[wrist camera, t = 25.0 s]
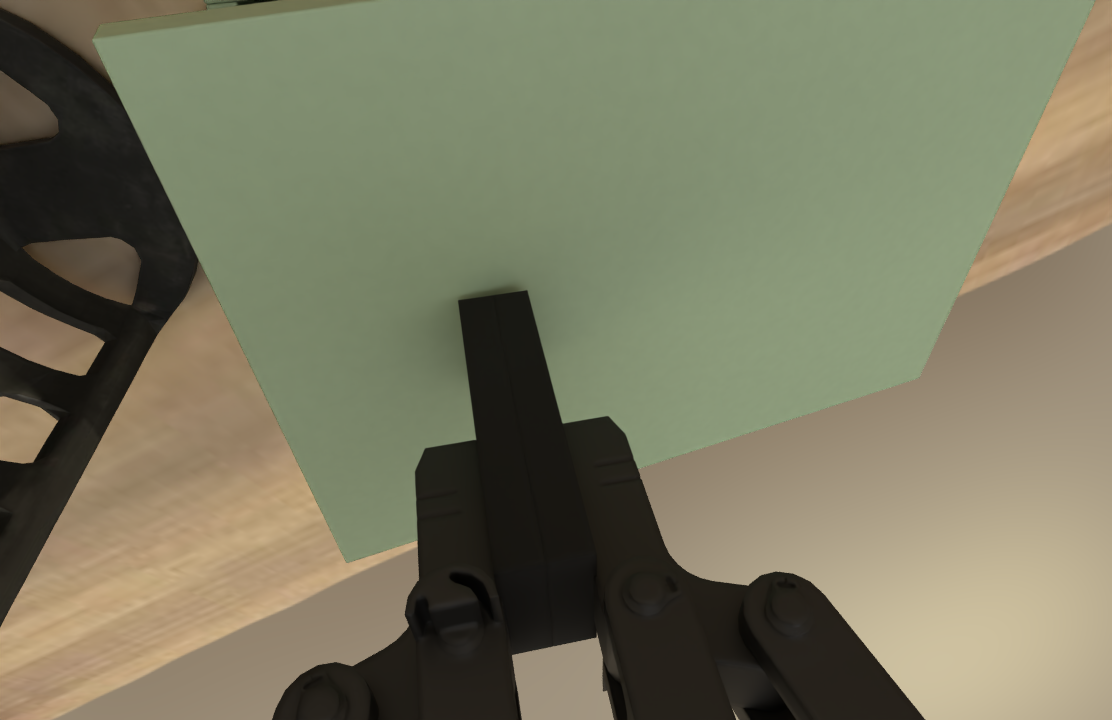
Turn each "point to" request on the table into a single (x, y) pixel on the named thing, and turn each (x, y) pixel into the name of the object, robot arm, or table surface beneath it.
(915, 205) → the lid
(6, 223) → the holder
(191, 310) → the table surface
